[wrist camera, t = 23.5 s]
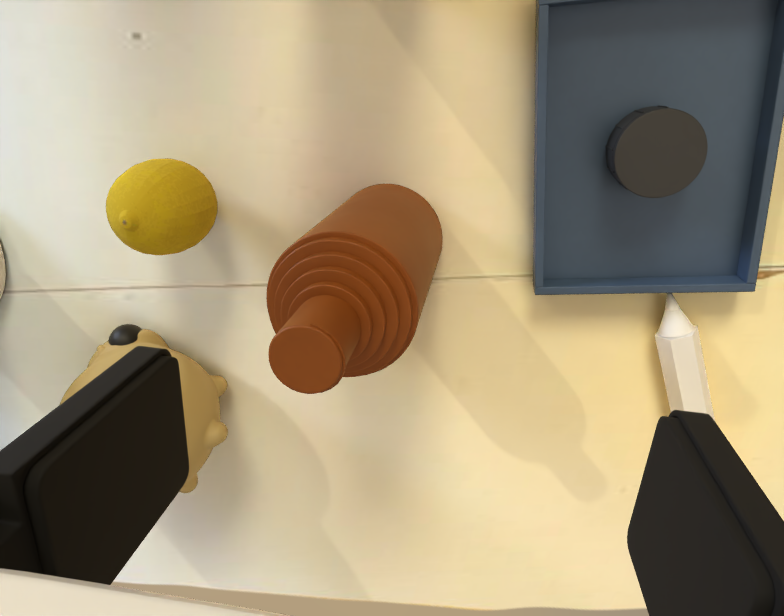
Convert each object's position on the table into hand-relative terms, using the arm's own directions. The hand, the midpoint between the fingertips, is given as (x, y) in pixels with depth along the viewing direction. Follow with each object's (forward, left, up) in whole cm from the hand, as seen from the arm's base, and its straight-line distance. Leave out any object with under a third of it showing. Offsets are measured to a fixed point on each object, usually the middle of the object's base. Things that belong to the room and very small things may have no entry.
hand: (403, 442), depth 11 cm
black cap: (+8, -7, -23) cm, 25 cm away
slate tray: (+8, -7, -26) cm, 27 cm away
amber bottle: (-5, +2, -26) cm, 26 cm away
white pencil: (-2, -19, -26) cm, 32 cm away
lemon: (-10, +14, -26) cm, 31 cm away
